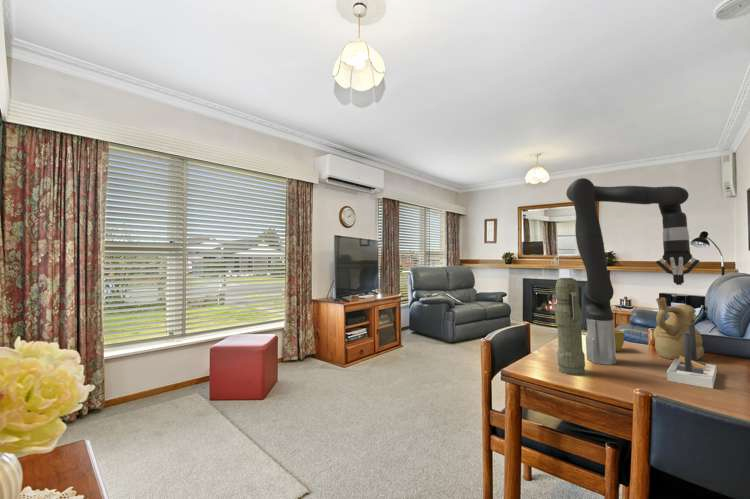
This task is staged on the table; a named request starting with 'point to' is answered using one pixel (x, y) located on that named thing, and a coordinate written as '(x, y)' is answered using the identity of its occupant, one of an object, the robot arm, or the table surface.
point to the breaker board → (692, 374)
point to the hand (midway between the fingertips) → (679, 284)
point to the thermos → (569, 327)
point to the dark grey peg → (687, 352)
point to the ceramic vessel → (674, 330)
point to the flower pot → (618, 339)
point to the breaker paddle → (693, 363)
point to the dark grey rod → (692, 342)
